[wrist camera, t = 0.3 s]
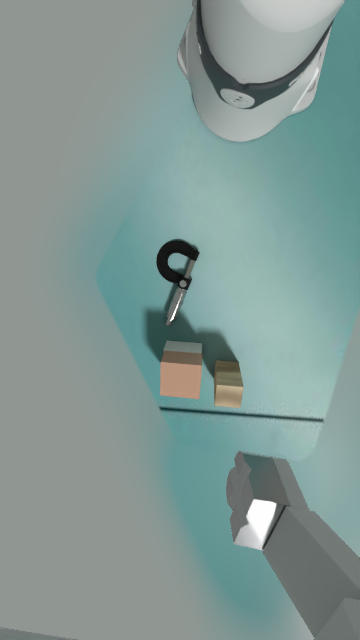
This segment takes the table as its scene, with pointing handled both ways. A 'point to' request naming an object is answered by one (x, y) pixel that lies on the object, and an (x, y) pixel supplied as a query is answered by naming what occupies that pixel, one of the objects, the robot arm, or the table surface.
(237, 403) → the oak block
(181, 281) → the micrometer
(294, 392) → the table surface
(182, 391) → the terracotta tower block
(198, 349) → the off-white tower block
